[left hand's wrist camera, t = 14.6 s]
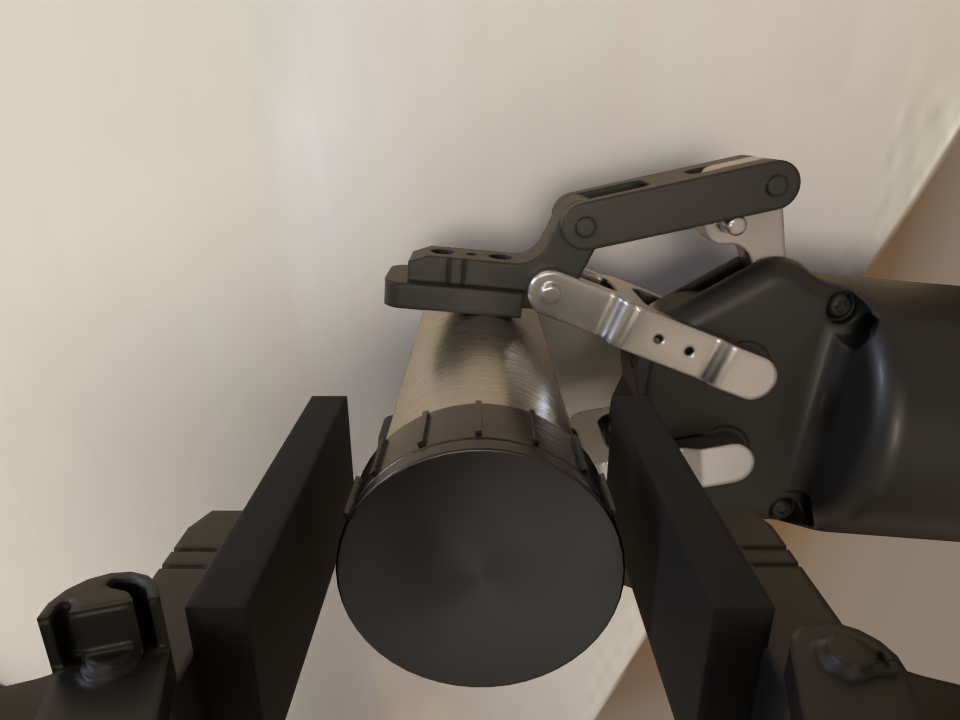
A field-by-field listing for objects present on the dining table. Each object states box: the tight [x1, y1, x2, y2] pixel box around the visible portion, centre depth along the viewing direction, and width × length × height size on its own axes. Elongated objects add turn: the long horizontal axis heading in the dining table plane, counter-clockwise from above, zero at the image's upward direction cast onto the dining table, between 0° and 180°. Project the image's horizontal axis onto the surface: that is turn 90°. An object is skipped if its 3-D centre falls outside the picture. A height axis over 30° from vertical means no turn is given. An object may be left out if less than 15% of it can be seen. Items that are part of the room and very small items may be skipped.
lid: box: [336, 400, 625, 687], centre depth 11 cm, size 5×5×2 cm
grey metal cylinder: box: [386, 308, 573, 439], centre depth 18 cm, size 4×4×15 cm
